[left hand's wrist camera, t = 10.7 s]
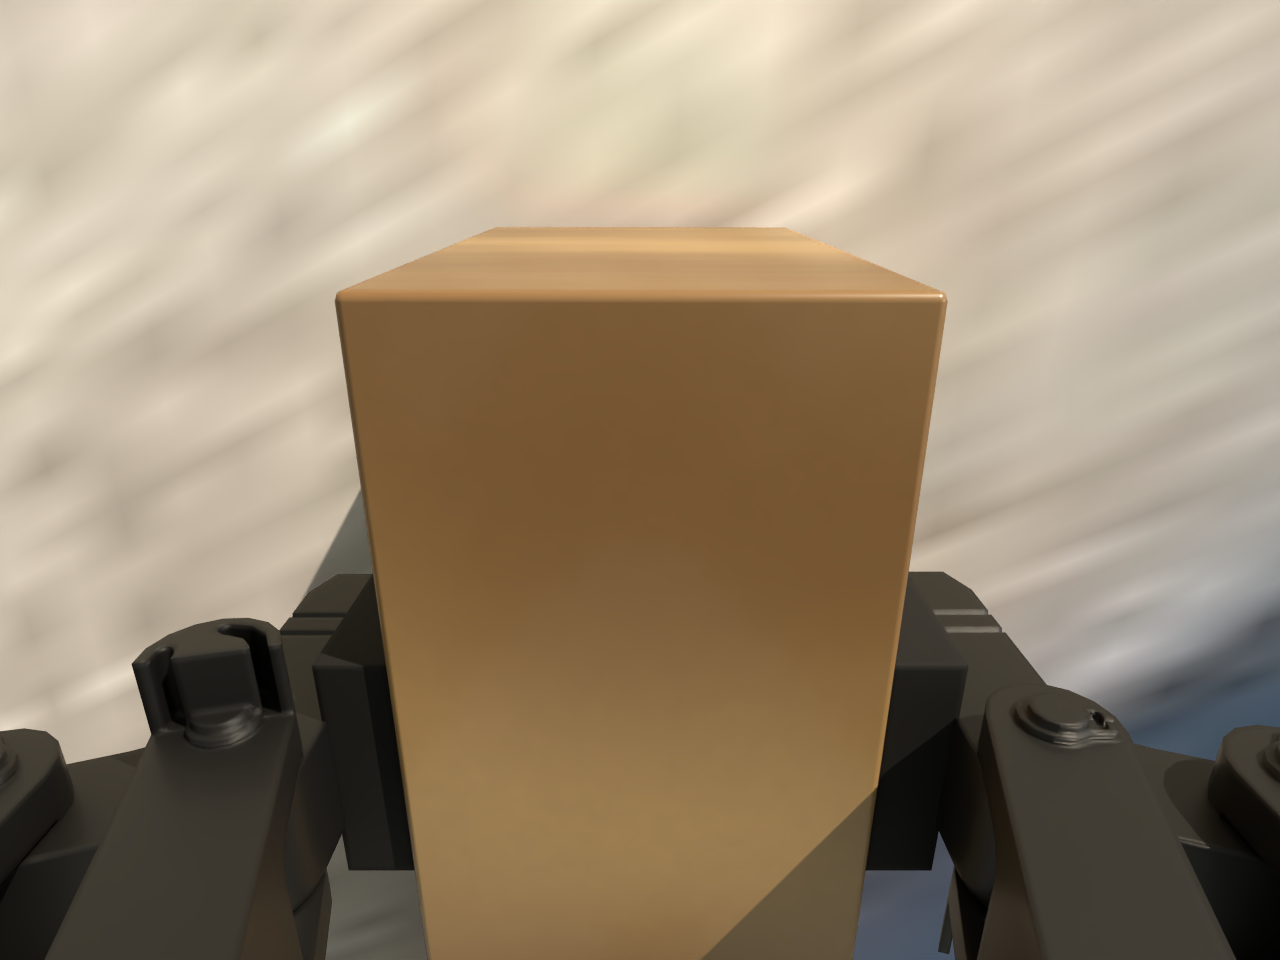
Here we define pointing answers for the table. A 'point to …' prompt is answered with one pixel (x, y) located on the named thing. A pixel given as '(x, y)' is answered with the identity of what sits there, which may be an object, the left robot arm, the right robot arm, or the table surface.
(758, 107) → the table surface
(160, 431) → the table surface
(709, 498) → the beam
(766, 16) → the table surface
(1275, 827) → the left robot arm
